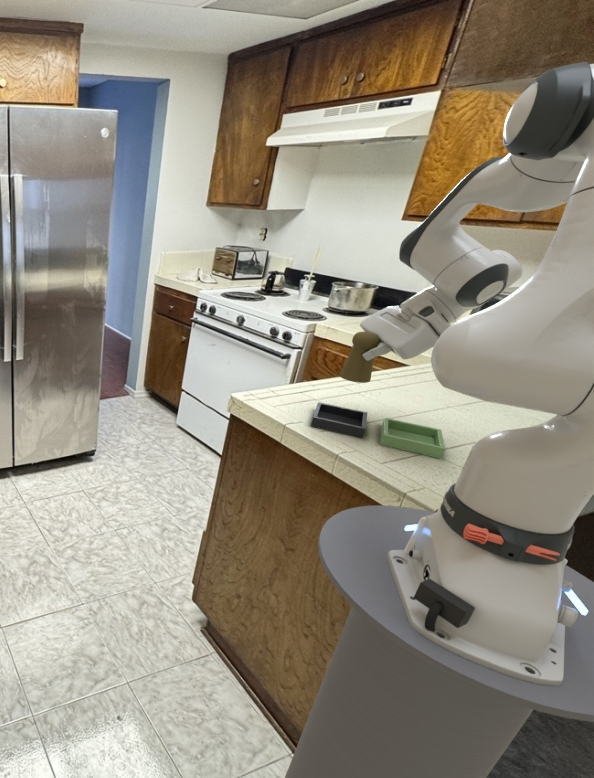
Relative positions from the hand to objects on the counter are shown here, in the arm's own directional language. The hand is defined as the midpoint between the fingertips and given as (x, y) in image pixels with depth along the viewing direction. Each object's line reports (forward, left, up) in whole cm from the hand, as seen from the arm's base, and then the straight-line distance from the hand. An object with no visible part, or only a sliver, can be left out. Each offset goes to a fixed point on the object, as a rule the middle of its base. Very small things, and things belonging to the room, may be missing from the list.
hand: (358, 353), depth 108 cm
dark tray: (+2, 0, -19) cm, 19 cm away
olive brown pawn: (0, -1, -6) cm, 6 cm away
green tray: (+1, -14, -19) cm, 24 cm away
